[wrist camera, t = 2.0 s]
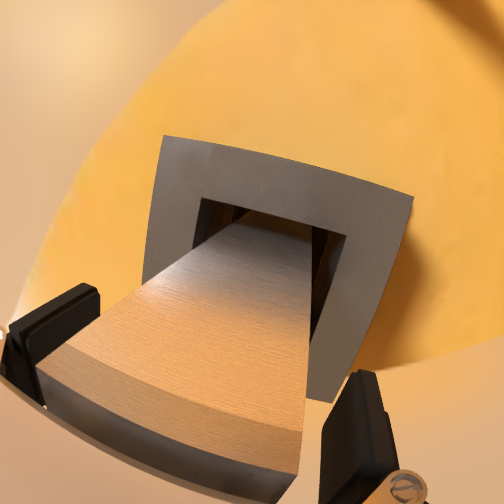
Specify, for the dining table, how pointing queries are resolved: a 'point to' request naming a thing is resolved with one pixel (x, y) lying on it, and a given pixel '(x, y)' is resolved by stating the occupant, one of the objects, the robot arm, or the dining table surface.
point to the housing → (294, 208)
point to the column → (202, 363)
